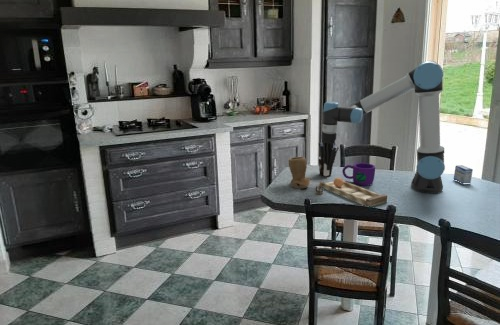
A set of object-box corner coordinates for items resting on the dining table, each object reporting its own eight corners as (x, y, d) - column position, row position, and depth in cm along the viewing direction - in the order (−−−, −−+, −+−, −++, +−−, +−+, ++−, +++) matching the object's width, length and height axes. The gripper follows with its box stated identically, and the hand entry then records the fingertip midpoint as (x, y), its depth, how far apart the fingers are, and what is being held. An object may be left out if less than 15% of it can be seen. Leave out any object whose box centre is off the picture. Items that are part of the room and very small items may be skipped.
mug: (376, 182, 213) (377, 164, 210) (370, 188, 204) (372, 169, 201) (345, 177, 222) (346, 160, 219) (338, 182, 212) (339, 165, 210)
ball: (345, 187, 202) (345, 177, 201) (338, 189, 199) (338, 179, 198) (338, 184, 206) (338, 175, 205) (331, 186, 204) (331, 177, 202)
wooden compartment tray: (386, 202, 185) (387, 195, 184) (368, 207, 179) (369, 200, 178) (336, 182, 213) (336, 176, 212) (319, 186, 207) (319, 179, 206)
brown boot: (290, 179, 218) (290, 153, 214) (311, 181, 215) (312, 154, 211) (284, 188, 204) (285, 160, 200) (307, 190, 201) (308, 162, 197)
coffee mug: (332, 177, 220) (334, 160, 218) (317, 176, 222) (318, 160, 219) (332, 171, 231) (333, 155, 228) (318, 170, 233) (318, 154, 230)
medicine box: (452, 180, 216) (455, 165, 213) (459, 179, 217) (462, 164, 214) (463, 185, 208) (466, 169, 206) (470, 184, 209) (473, 168, 207)
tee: (323, 193, 196) (324, 187, 195) (318, 195, 194) (319, 188, 193) (319, 191, 199) (319, 185, 198) (314, 193, 197) (315, 186, 196)
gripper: (315, 130, 206) (312, 173, 213) (332, 135, 195) (329, 179, 202) (326, 129, 210) (323, 171, 216) (343, 133, 199) (340, 177, 206)
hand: (326, 175), depth 209 cm, fingers closed
